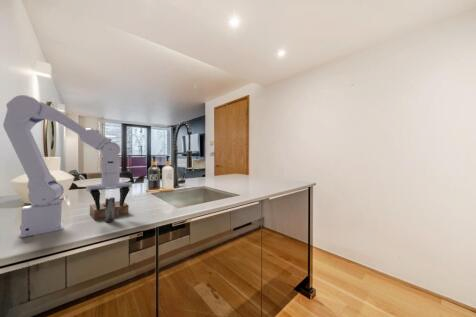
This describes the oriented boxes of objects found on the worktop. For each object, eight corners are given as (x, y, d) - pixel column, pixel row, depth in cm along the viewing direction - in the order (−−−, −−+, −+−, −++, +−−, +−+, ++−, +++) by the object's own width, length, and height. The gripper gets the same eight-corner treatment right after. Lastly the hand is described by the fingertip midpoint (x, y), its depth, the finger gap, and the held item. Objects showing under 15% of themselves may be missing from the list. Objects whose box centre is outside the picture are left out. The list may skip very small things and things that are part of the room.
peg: (105, 223, 70) (106, 199, 70) (103, 221, 72) (104, 198, 72) (115, 221, 72) (115, 198, 72) (113, 219, 74) (113, 197, 74)
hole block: (94, 220, 72) (94, 210, 72) (89, 214, 79) (89, 205, 79) (128, 214, 81) (128, 205, 81) (121, 209, 88) (121, 200, 88)
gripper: (89, 174, 64) (88, 213, 64) (134, 172, 74) (134, 206, 74) (85, 173, 68) (84, 209, 69) (129, 171, 79) (128, 203, 79)
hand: (110, 207), depth 72 cm, fingers open, 7 cm apart
